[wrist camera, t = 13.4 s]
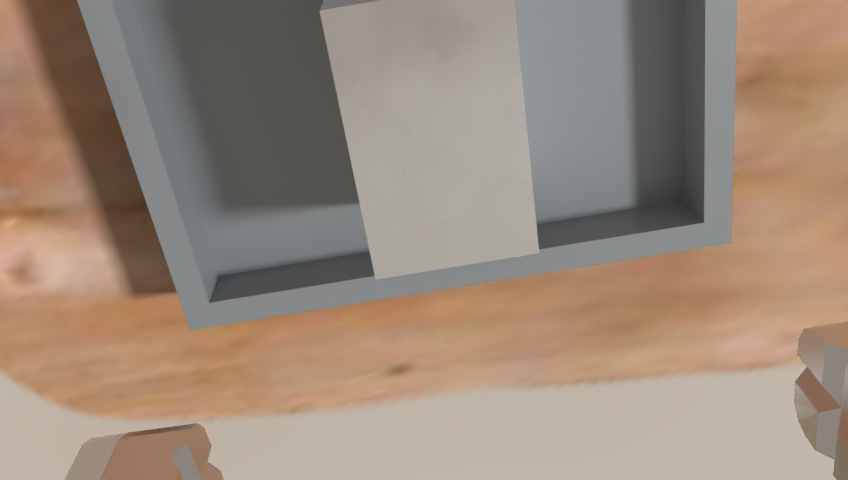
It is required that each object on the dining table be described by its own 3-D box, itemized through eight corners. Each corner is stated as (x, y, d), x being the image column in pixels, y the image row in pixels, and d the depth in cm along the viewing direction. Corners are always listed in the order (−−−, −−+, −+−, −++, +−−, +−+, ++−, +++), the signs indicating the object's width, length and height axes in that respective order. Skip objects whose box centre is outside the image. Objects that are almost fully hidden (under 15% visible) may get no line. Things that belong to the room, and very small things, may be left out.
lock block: (332, -21, 25) (319, 10, 20) (483, -47, 25) (512, -22, 20) (376, 201, 29) (375, 279, 23) (509, 180, 29) (539, 253, 23)
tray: (86, -82, 25) (51, -76, 22) (702, -188, 25) (741, -195, 22) (206, 290, 31) (189, 330, 28) (700, 209, 31) (731, 243, 28)
